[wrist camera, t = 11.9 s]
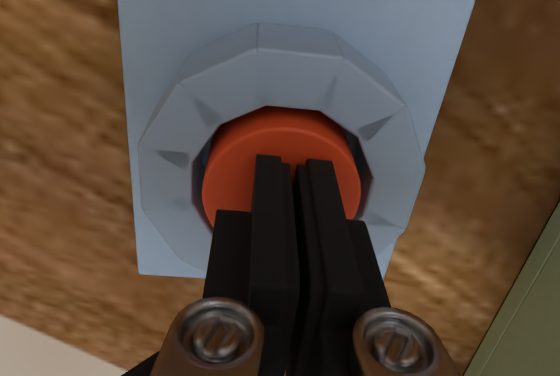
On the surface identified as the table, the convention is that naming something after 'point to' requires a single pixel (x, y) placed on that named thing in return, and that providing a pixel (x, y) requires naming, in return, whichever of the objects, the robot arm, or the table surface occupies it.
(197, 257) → the switch box
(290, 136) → the red switch button
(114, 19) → the table surface
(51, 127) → the table surface
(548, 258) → the bedside cabinet
